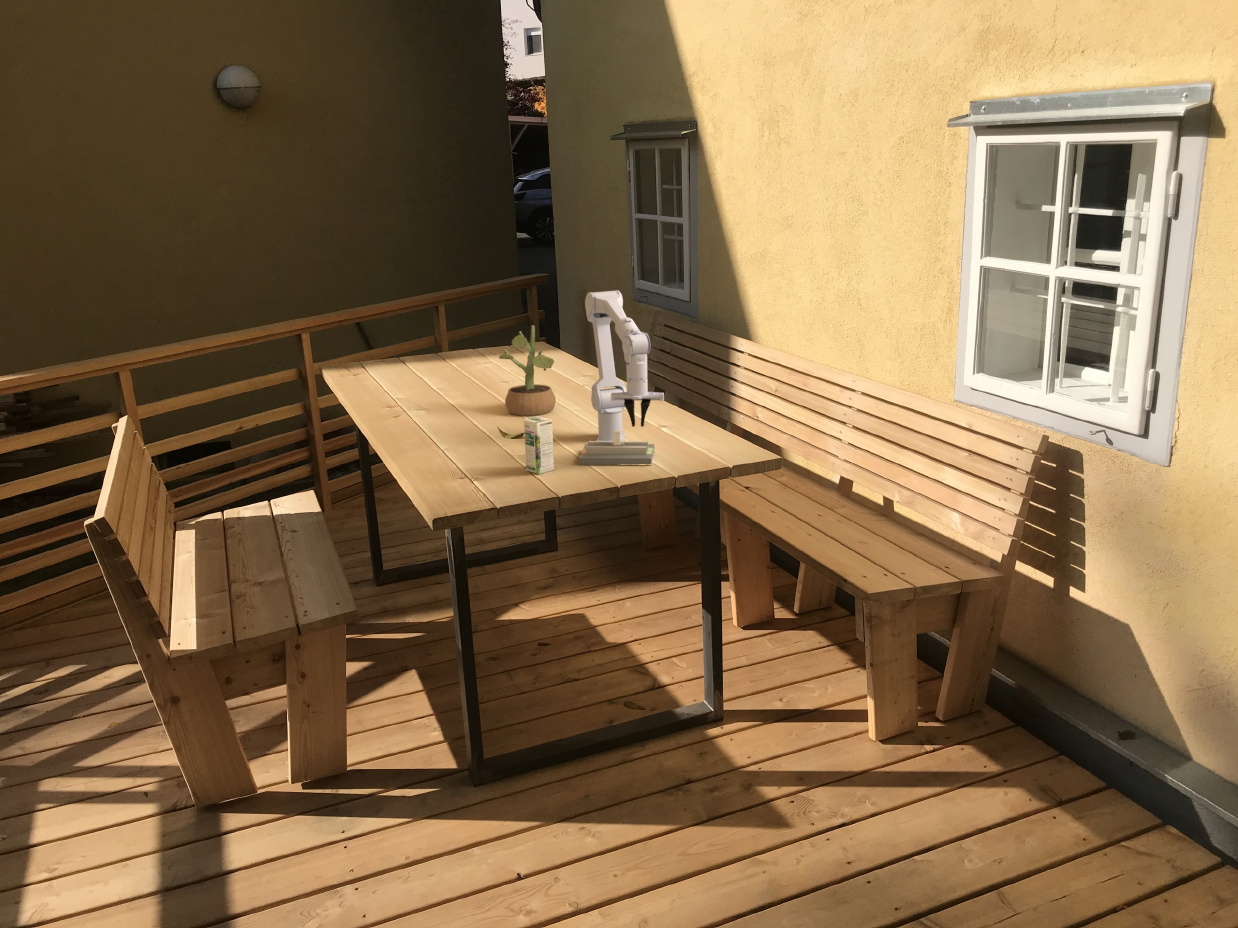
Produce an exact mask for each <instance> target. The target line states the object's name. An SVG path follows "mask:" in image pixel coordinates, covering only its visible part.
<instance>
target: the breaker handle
mask: <svg viewBox="0 0 1238 928" xmlns="http://www.w3.org/2000/svg"><path fill="white" fill-rule="evenodd" d="M609 446H625V442H621V430H614V432H613V442H611V443H610V445H609Z"/></svg>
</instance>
